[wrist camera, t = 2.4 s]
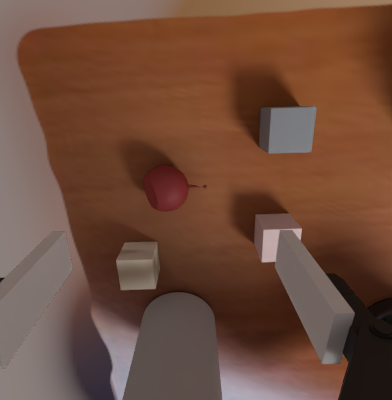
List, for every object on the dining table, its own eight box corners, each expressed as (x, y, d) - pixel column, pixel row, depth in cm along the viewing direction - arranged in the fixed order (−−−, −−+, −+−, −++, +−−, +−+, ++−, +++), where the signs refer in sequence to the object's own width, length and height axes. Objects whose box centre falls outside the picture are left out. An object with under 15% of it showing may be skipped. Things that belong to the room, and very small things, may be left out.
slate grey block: (295, 145, 35) (311, 152, 30) (258, 146, 35) (268, 153, 30) (299, 106, 33) (316, 106, 29) (260, 107, 33) (271, 108, 29)
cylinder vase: (225, 301, 44) (259, 525, 21) (199, 351, 48) (204, 585, 25) (155, 280, 43) (107, 497, 19) (135, 334, 47) (75, 566, 23)
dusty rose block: (286, 242, 40) (298, 261, 36) (253, 243, 40) (261, 262, 36) (288, 213, 39) (302, 228, 34) (255, 214, 39) (263, 229, 34)
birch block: (159, 268, 42) (155, 289, 37) (129, 269, 42) (120, 290, 37) (157, 241, 40) (152, 259, 36) (125, 242, 40) (115, 260, 36)
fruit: (182, 196, 40) (211, 209, 33) (148, 209, 37) (171, 226, 31) (174, 157, 38) (203, 163, 31) (137, 168, 35) (159, 176, 28)
